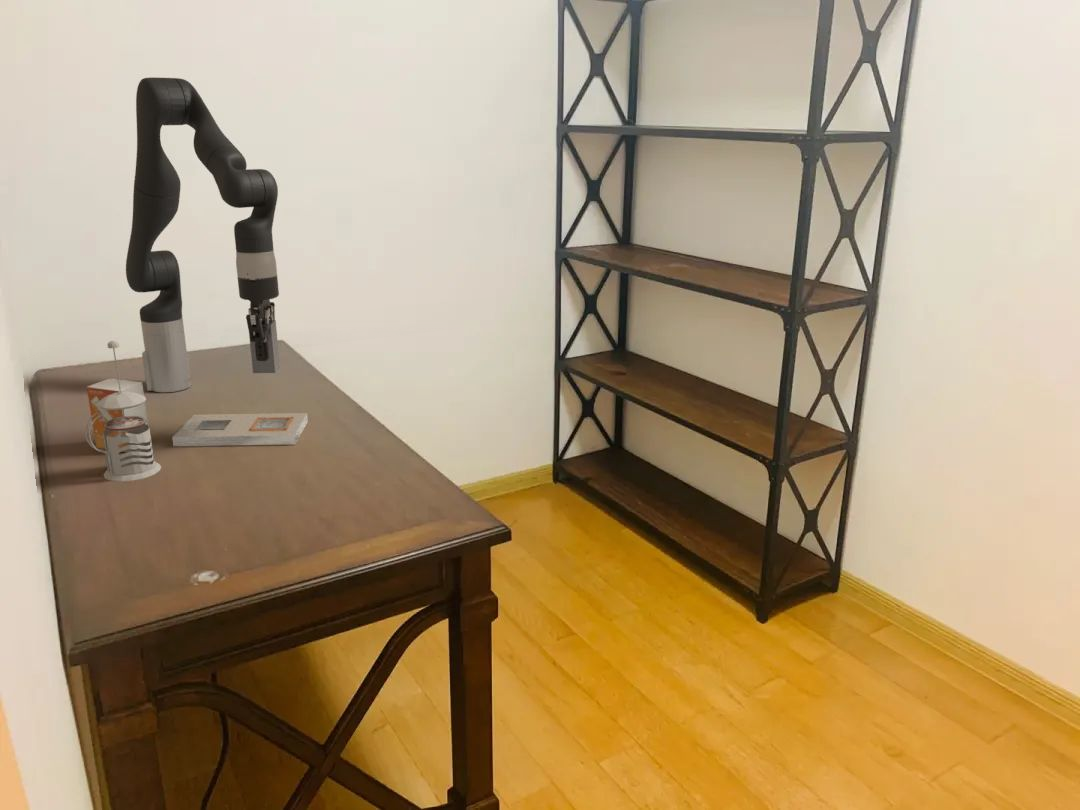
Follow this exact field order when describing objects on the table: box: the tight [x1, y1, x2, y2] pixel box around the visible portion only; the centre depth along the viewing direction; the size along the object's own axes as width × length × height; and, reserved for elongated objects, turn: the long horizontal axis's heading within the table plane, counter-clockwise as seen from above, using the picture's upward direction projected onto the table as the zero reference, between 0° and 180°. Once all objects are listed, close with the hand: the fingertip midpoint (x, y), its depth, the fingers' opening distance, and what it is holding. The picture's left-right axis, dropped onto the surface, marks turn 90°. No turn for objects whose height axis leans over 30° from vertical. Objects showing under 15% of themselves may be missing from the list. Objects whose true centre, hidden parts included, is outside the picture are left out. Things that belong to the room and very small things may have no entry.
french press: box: [84, 340, 162, 482], centre depth 151 cm, size 10×12×25 cm
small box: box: [86, 378, 149, 453], centre depth 166 cm, size 8×6×13 cm
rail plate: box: [172, 412, 309, 448], centre depth 175 cm, size 24×14×2 cm, turn 95°
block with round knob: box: [248, 319, 281, 374], centre depth 170 cm, size 4×4×11 cm
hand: (265, 356), depth 171 cm, fingers closed on block with round knob, 4 cm apart
